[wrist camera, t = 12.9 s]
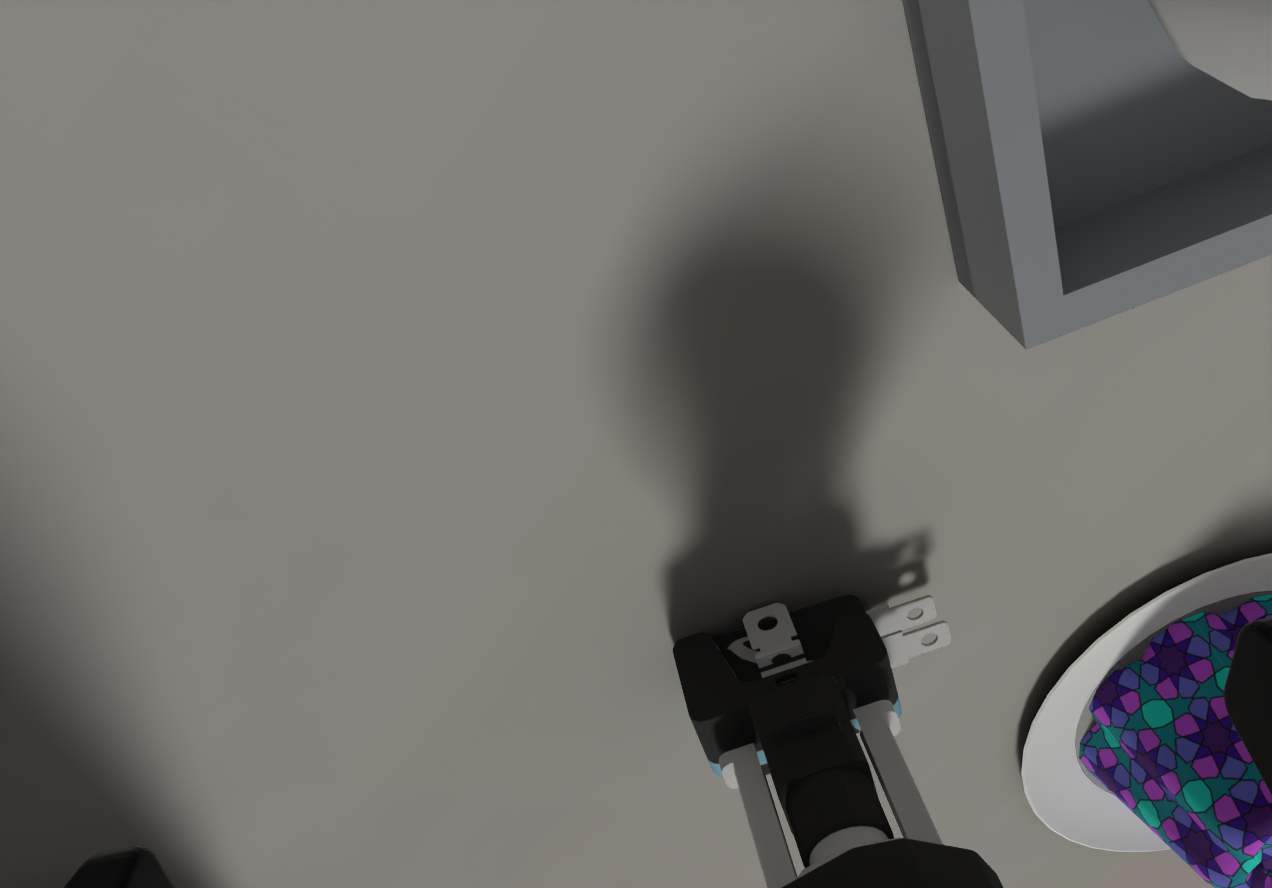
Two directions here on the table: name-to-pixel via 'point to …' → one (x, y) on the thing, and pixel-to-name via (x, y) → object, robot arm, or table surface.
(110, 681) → the table surface
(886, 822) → the push button
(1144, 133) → the grey tray
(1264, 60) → the salt shaker
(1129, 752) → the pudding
